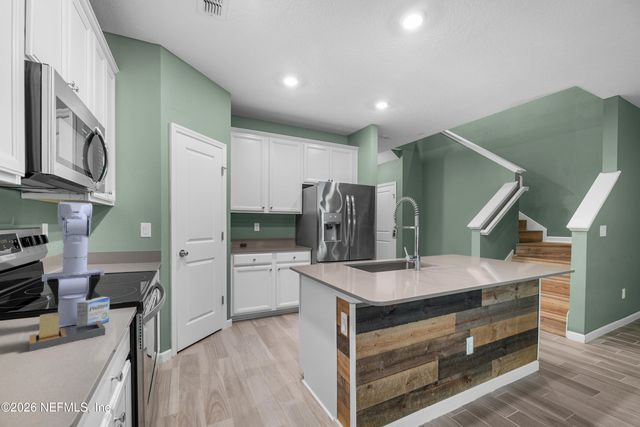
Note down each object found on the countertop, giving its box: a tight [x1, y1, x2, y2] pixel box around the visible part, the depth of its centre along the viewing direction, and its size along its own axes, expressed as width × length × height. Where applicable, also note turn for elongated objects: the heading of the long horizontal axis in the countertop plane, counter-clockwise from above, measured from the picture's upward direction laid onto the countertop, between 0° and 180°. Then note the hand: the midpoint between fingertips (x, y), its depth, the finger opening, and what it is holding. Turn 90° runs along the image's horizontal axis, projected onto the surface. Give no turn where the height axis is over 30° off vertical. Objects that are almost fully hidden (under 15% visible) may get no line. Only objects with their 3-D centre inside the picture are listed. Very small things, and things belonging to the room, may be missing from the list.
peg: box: [38, 311, 60, 340], centre depth 81 cm, size 4×4×8 cm
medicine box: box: [76, 296, 110, 327], centre depth 97 cm, size 8×4×9 cm, turn 168°
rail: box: [28, 322, 106, 352], centre depth 85 cm, size 8×16×2 cm, turn 136°
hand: (73, 301), depth 87 cm, fingers open, 7 cm apart
